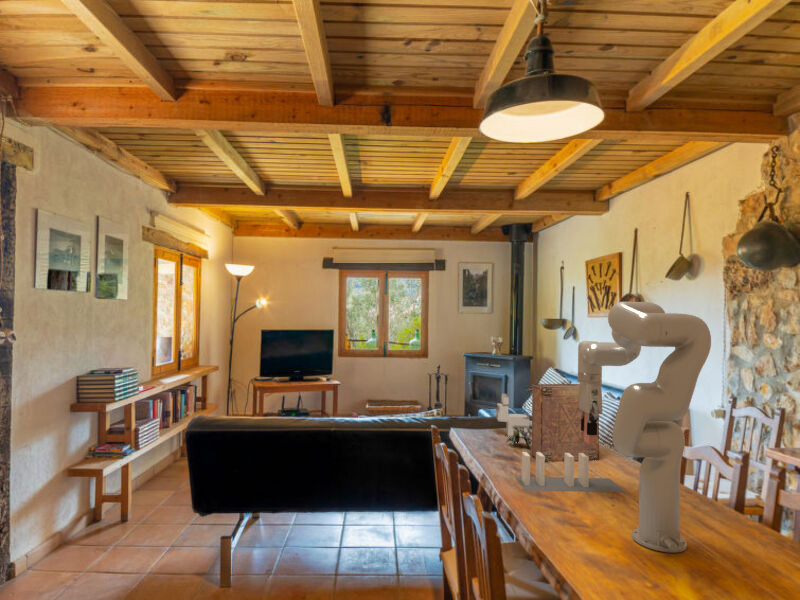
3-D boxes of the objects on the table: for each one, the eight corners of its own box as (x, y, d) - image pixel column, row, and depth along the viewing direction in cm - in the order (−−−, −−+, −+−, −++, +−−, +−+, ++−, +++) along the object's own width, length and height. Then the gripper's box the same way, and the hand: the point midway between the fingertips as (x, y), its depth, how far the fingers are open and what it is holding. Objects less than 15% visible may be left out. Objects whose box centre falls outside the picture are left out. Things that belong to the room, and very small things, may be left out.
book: (586, 454, 211) (587, 383, 212) (599, 460, 202) (599, 386, 203) (531, 456, 207) (532, 384, 208) (541, 462, 198) (542, 387, 199)
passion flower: (527, 460, 220) (538, 441, 214) (504, 455, 219) (514, 437, 212) (523, 440, 229) (532, 422, 223) (500, 436, 228) (510, 418, 222)
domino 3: (573, 486, 168) (574, 457, 168) (569, 486, 168) (569, 456, 168) (568, 481, 173) (569, 452, 173) (564, 481, 173) (564, 452, 173)
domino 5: (593, 444, 162) (594, 414, 163) (589, 444, 163) (589, 414, 163) (588, 440, 167) (589, 411, 168) (583, 440, 168) (584, 411, 168)
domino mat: (627, 494, 164) (627, 492, 164) (524, 492, 163) (524, 490, 164) (609, 480, 178) (609, 478, 178) (515, 478, 177) (515, 476, 178)
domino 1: (529, 485, 168) (530, 456, 168) (525, 485, 168) (525, 455, 168) (526, 480, 173) (526, 452, 173) (521, 480, 173) (521, 451, 173)
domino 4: (588, 486, 168) (588, 457, 168) (583, 486, 168) (584, 457, 168) (583, 482, 173) (583, 453, 173) (578, 481, 173) (578, 453, 173)
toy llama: (534, 438, 237) (535, 396, 238) (497, 437, 239) (498, 395, 239) (531, 434, 244) (532, 394, 245) (496, 433, 246) (496, 393, 247)
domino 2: (544, 486, 168) (544, 456, 168) (539, 485, 168) (540, 456, 168) (540, 481, 173) (540, 452, 173) (535, 481, 173) (536, 452, 173)
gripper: (611, 382, 157) (610, 439, 156) (591, 375, 174) (590, 427, 173) (587, 381, 157) (586, 439, 157) (570, 374, 174) (569, 426, 174)
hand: (588, 432), depth 165 cm, fingers closed on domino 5, 4 cm apart
